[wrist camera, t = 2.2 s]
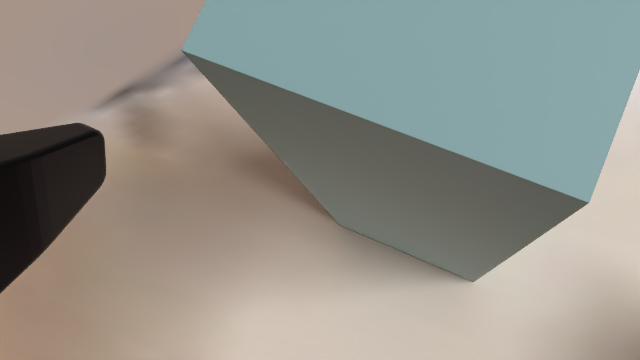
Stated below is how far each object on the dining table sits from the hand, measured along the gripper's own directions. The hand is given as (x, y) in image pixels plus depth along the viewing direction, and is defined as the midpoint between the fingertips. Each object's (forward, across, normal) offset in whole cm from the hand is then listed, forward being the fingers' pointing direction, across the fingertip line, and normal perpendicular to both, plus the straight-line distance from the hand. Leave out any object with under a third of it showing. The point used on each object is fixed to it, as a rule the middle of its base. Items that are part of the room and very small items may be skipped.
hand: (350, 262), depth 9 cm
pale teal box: (+9, 0, +5) cm, 10 cm away
